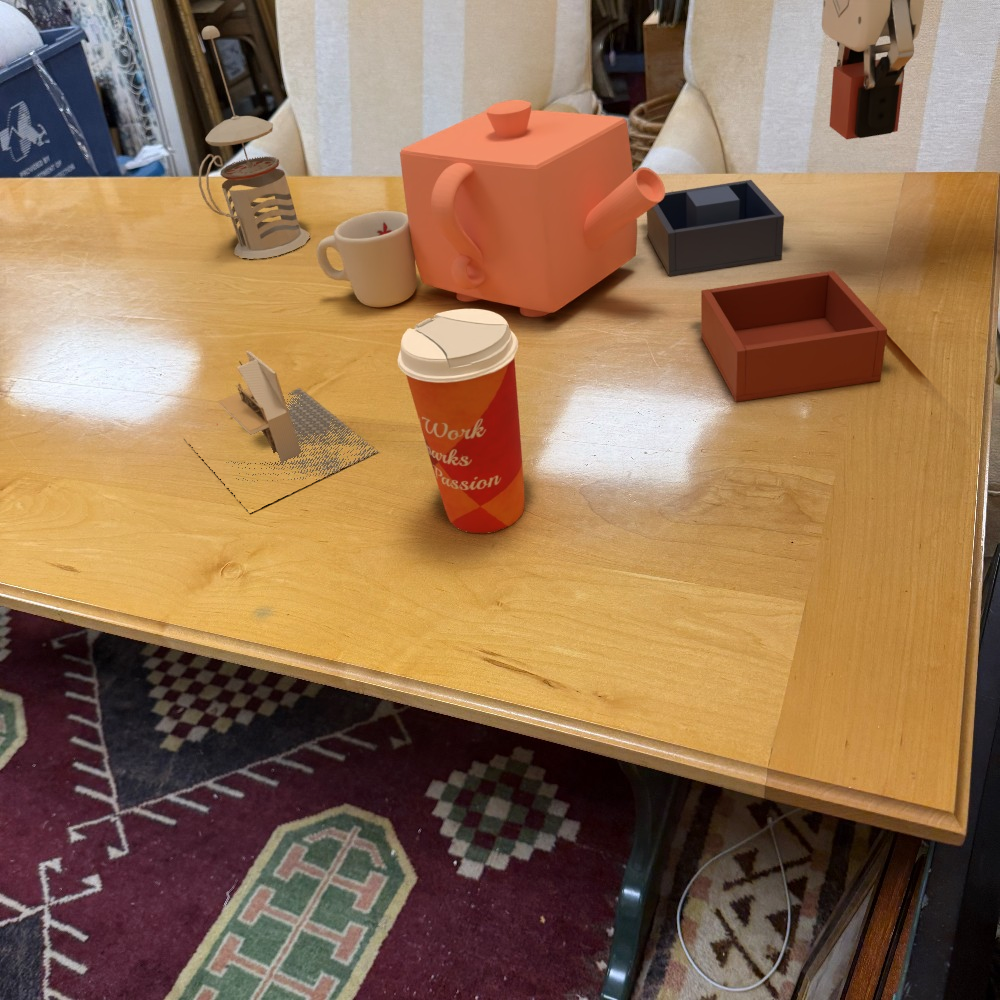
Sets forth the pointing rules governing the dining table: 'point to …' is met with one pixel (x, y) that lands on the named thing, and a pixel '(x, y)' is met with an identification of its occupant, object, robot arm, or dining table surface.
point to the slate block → (711, 206)
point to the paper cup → (469, 414)
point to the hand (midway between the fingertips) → (863, 124)
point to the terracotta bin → (791, 336)
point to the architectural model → (285, 418)
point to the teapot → (525, 205)
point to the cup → (374, 257)
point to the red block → (850, 98)
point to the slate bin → (716, 233)
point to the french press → (253, 173)
